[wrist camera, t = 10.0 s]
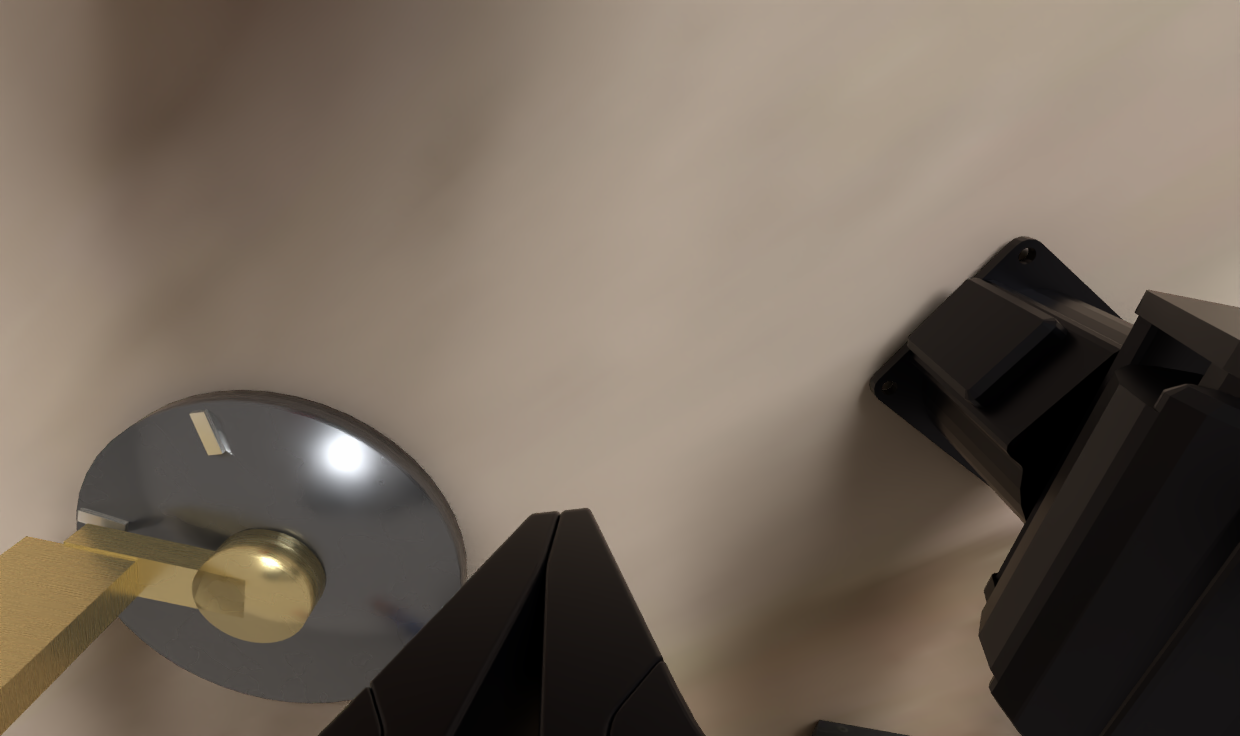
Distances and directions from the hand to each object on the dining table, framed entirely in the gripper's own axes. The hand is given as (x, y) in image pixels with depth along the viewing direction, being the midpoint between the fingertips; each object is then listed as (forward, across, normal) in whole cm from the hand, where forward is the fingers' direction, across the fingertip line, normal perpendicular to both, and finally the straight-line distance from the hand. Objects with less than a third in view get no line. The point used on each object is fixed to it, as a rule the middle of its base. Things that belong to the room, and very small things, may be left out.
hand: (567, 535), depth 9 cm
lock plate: (+12, +14, +9) cm, 20 cm away
